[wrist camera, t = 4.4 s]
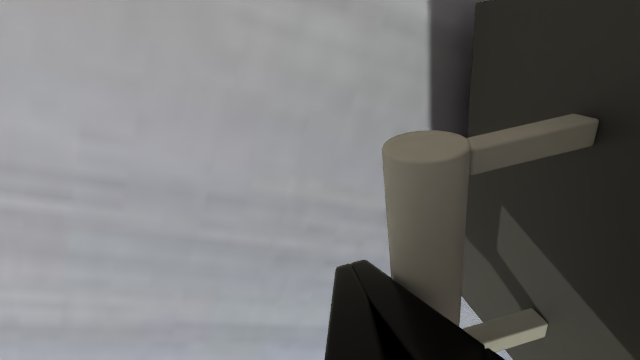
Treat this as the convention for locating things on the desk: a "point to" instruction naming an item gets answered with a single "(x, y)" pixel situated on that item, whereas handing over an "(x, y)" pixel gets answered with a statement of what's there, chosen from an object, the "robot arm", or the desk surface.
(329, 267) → the desk surface
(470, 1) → the desk surface
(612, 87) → the drawer
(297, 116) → the desk surface
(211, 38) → the desk surface
